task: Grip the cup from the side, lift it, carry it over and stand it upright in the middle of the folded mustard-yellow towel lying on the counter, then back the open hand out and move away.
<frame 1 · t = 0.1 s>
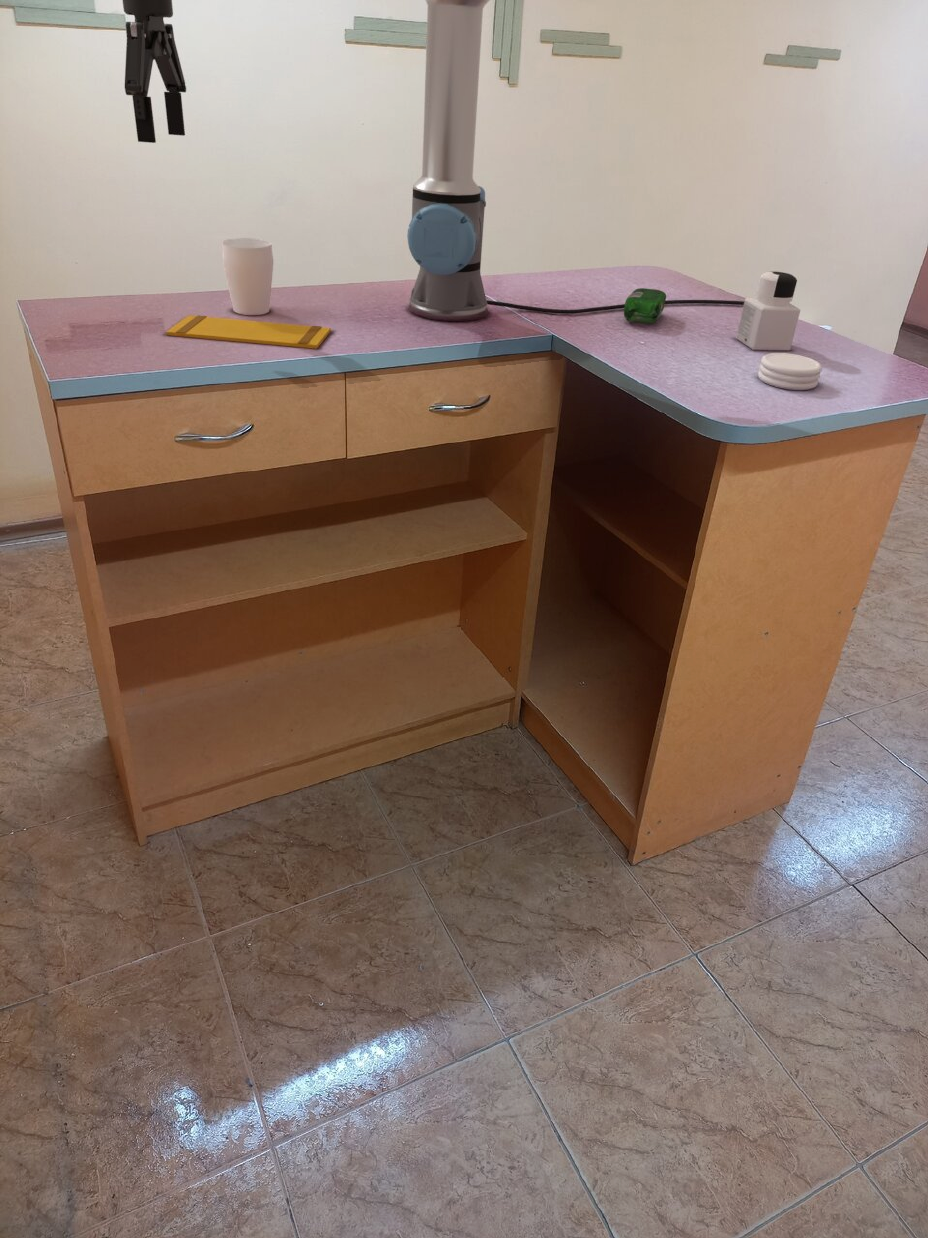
hand: (162, 138, 153), 28 cm above the worktop, tool pointing down, fingers open, 13 cm apart
coaster: (786, 382, 153), on the worktop
cup: (251, 311, 169), on the worktop
container: (762, 345, 171), on the worktop
snack package: (642, 320, 181), on the worktop
towel: (250, 333, 157), on the worktop
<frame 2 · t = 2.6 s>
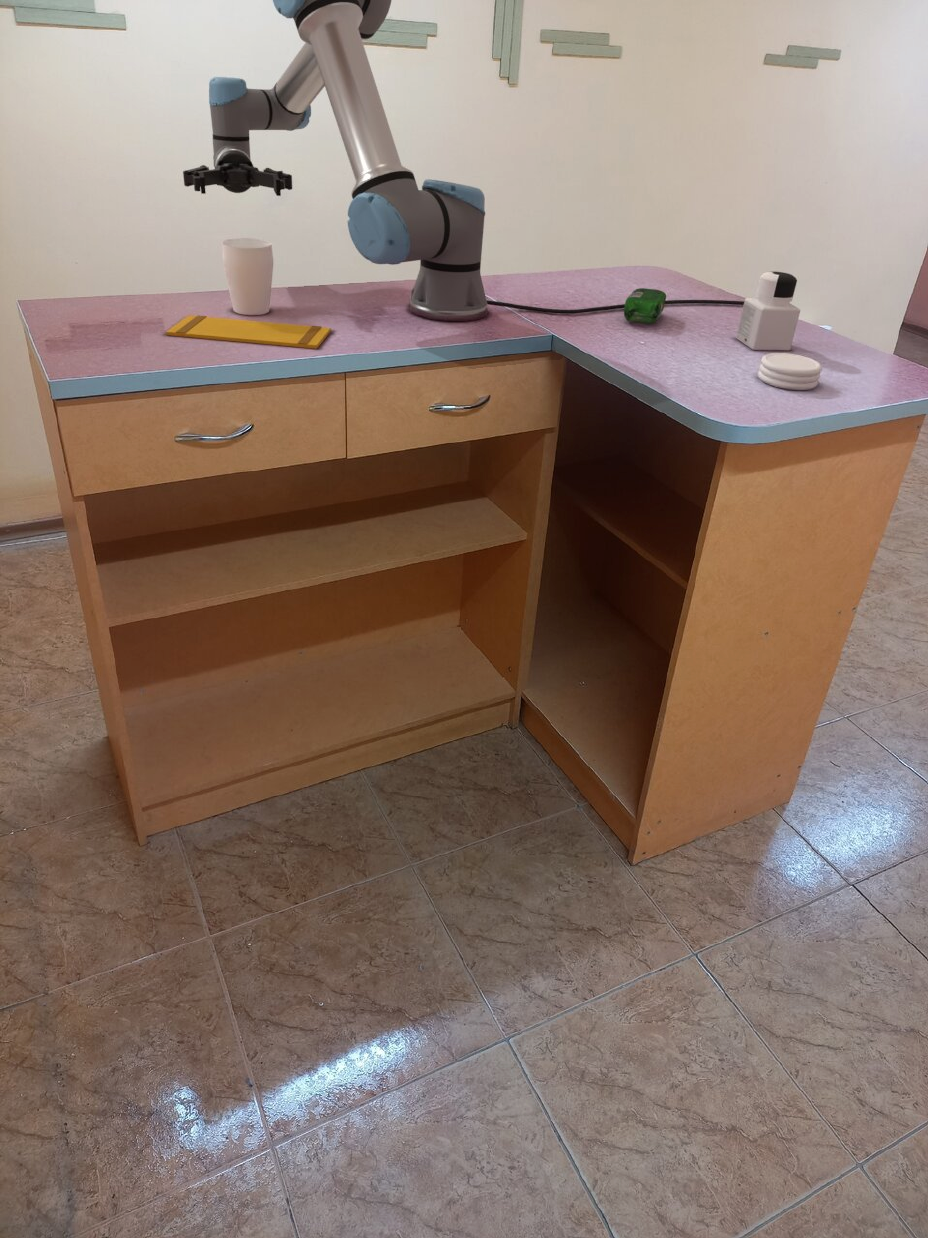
hand: (241, 186, 165), 20 cm above the worktop, tool horizontal, fingers open, 13 cm apart
nothing on the worktop moved.
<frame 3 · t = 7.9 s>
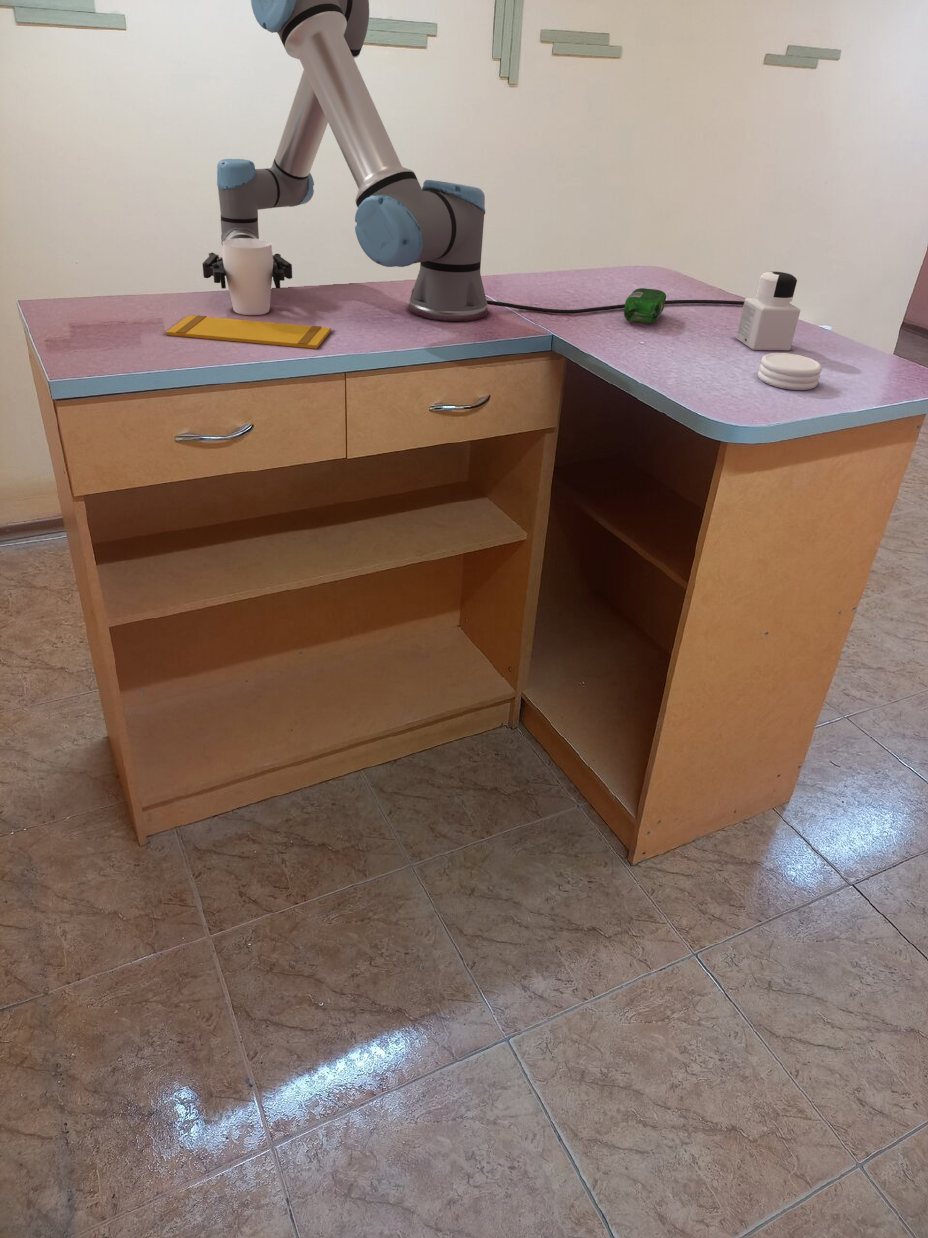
hand: (250, 280, 161), 6 cm above the worktop, tool horizontal, fingers closed on cup, 9 cm apart
cup: (251, 311, 169), on the worktop, touching gripper
everything else where it was.
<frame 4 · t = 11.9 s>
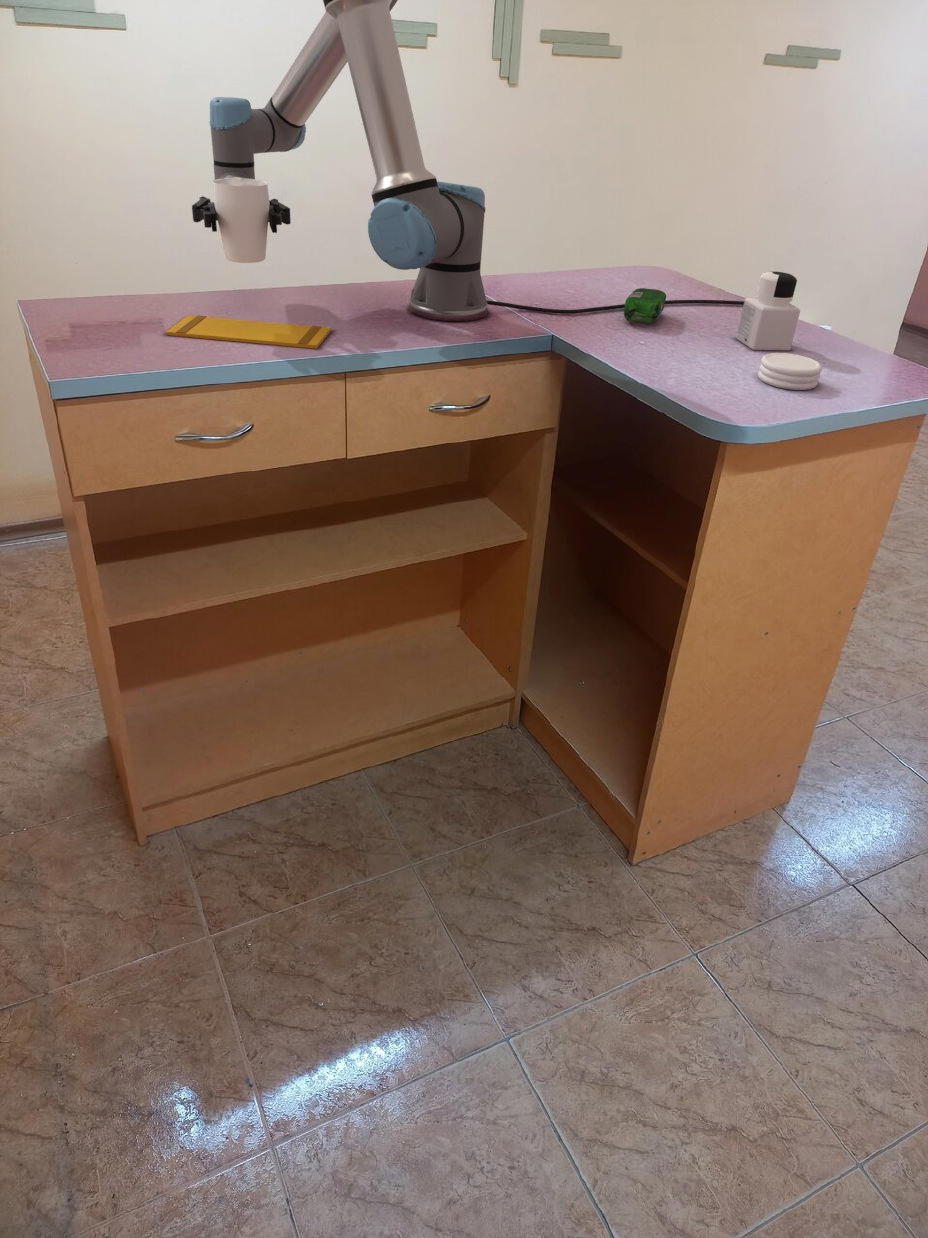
hand: (244, 223, 147), 18 cm above the worktop, tool horizontal, fingers closed on cup, 9 cm apart
cup: (245, 260, 154), point 11 cm above the worktop, touching gripper
everything else where it was.
when the fingers open (7 cm above the worktop, at t = 15.9 s): cup stays where it is, resting on towel.
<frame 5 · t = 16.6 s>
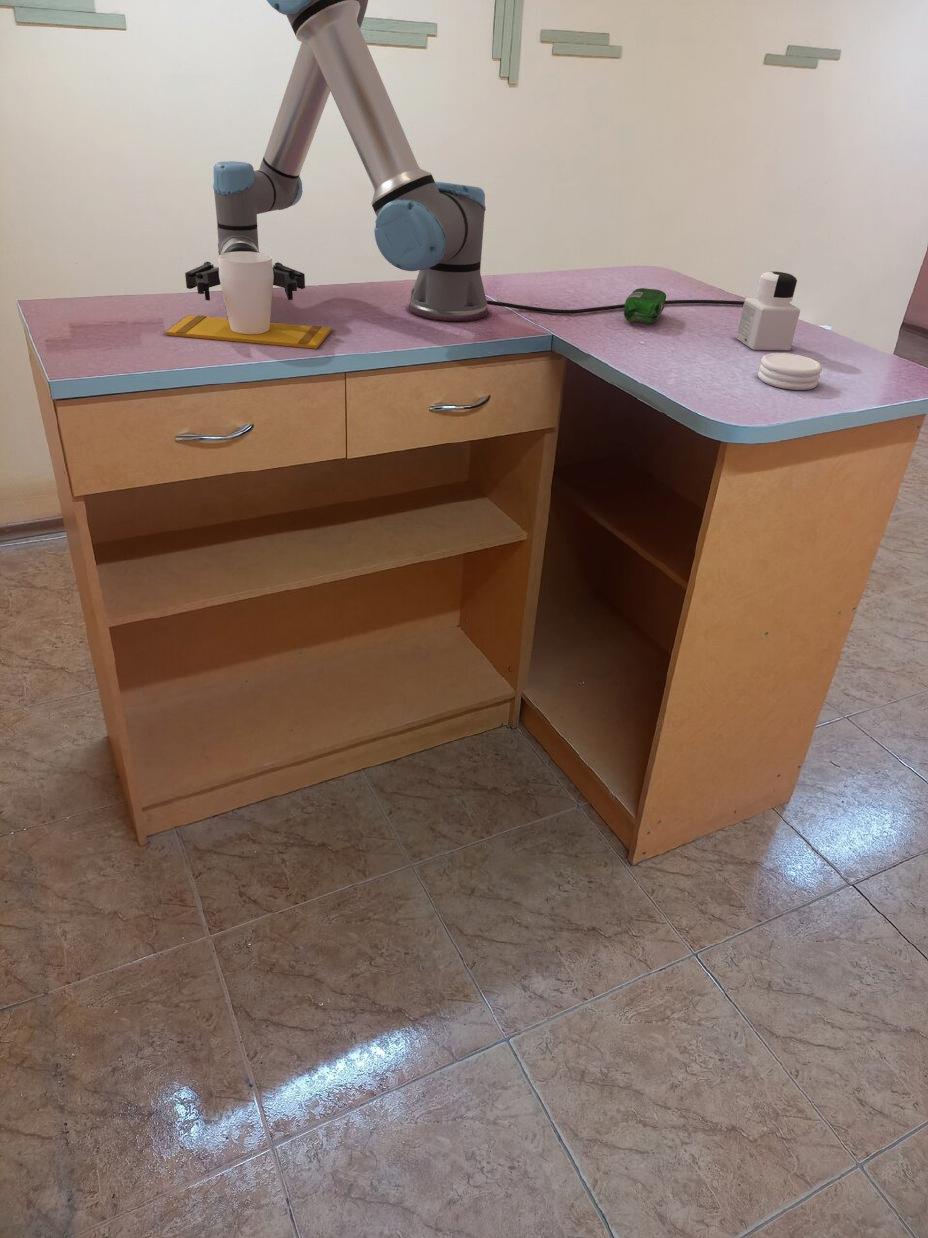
hand: (249, 291, 150), 8 cm above the worktop, tool horizontal, fingers open, 13 cm apart
cup: (250, 330, 156), resting on towel
everything else where it was.
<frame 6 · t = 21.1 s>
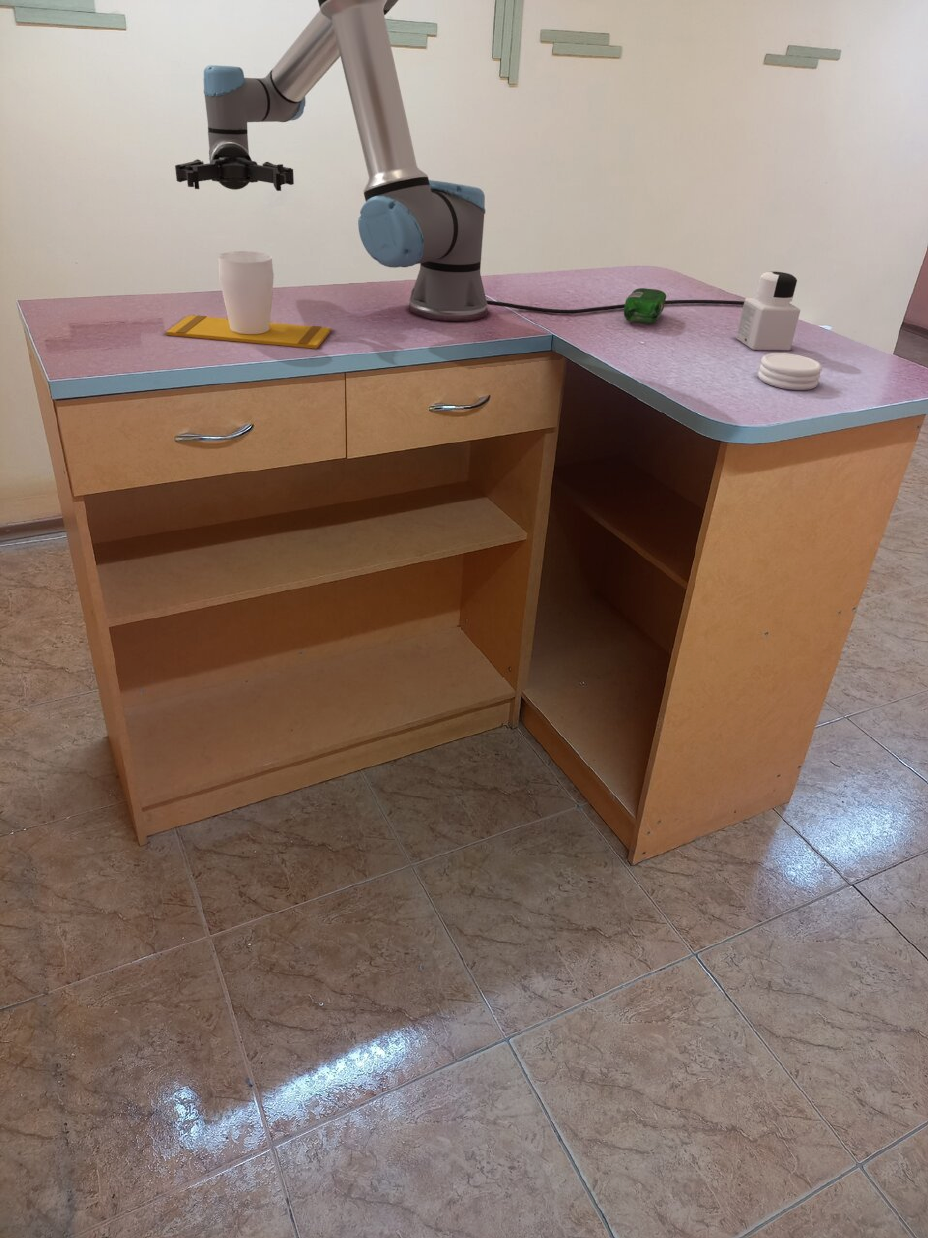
hand: (237, 181, 152), 23 cm above the worktop, tool horizontal, fingers open, 13 cm apart
nothing on the worktop moved.
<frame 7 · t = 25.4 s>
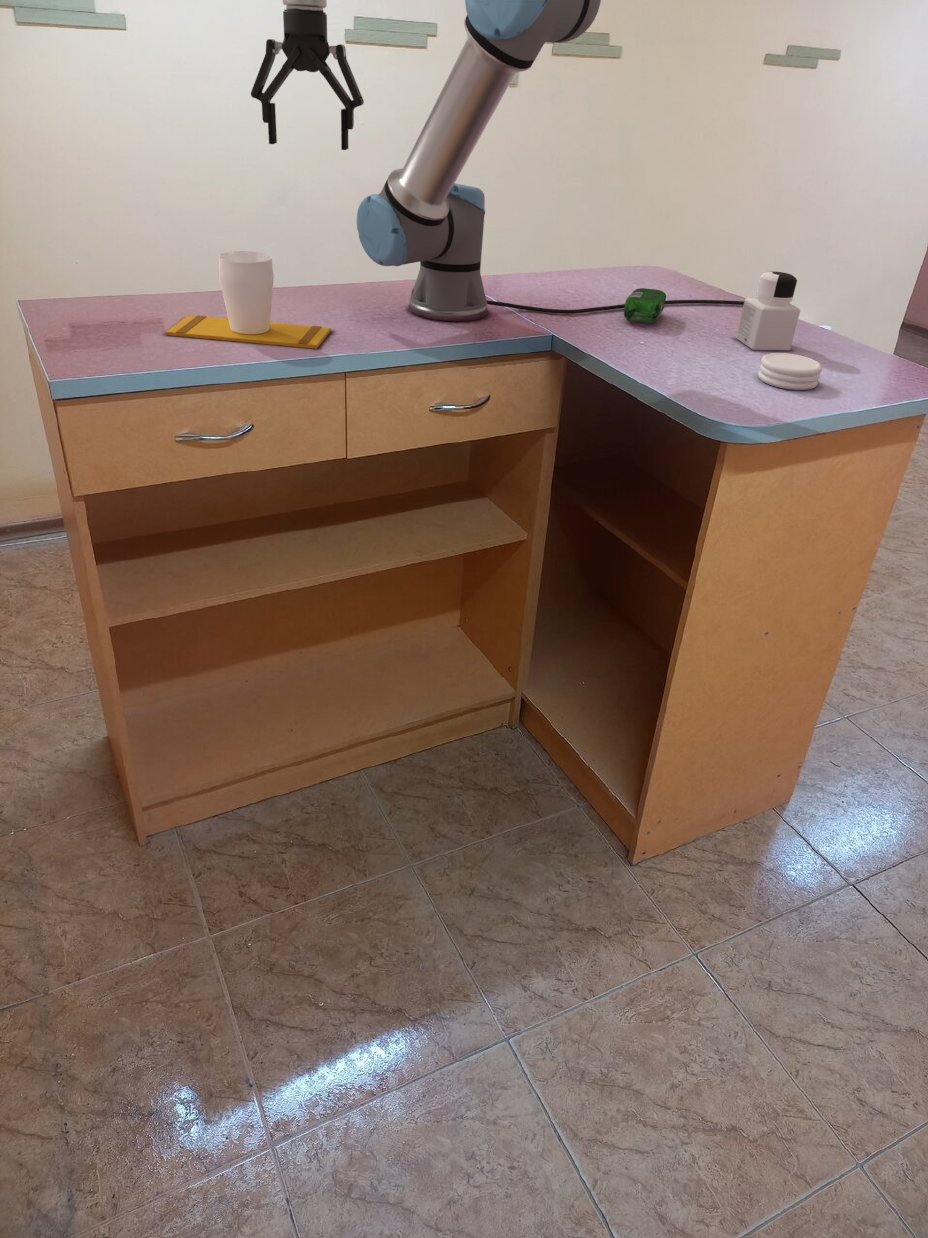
hand: (308, 146, 167), 27 cm above the worktop, tool pointing down, fingers open, 13 cm apart
nothing on the worktop moved.
at the end: cup inside the target area on the towel (0.1 cm from its centre), point 0.4 cm above the towel's base; cup tilted 0°; cup touching towel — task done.
